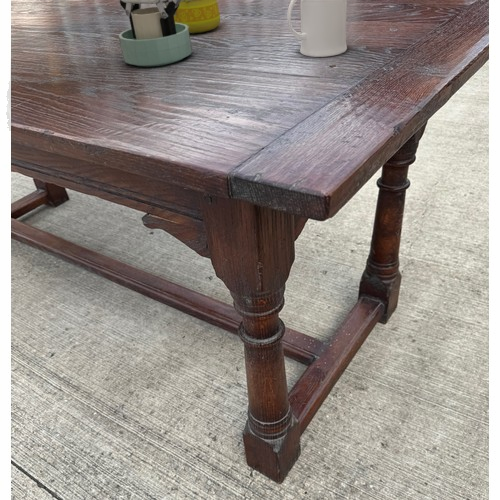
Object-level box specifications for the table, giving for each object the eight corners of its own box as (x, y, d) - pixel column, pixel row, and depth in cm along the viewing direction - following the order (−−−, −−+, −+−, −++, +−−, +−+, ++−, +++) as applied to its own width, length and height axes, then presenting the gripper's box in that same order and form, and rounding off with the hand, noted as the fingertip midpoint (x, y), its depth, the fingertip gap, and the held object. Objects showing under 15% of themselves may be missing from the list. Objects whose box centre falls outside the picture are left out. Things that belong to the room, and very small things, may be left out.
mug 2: (298, 64, 88) (296, -13, 81) (276, 53, 95) (272, -19, 88) (356, 50, 92) (358, -24, 85) (330, 41, 98) (331, -29, 91)
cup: (159, 61, 95) (151, 15, 90) (132, 58, 98) (123, 13, 93) (183, 51, 99) (176, 6, 95) (156, 48, 103) (149, 5, 98)
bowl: (161, 71, 92) (156, 42, 89) (110, 64, 98) (103, 37, 95) (205, 51, 100) (202, 24, 97) (156, 46, 106) (151, 21, 104)
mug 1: (201, 22, 122) (193, -35, 115) (231, 26, 115) (225, -33, 108) (157, 34, 116) (146, -25, 108) (186, 40, 109) (176, -23, 102)
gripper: (83, -67, 88) (109, 40, 99) (158, -71, 80) (177, 46, 90) (114, -72, 93) (135, 30, 104) (188, -77, 85) (203, 36, 95)
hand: (155, 37), depth 97 cm, fingers closed on cup, 7 cm apart
